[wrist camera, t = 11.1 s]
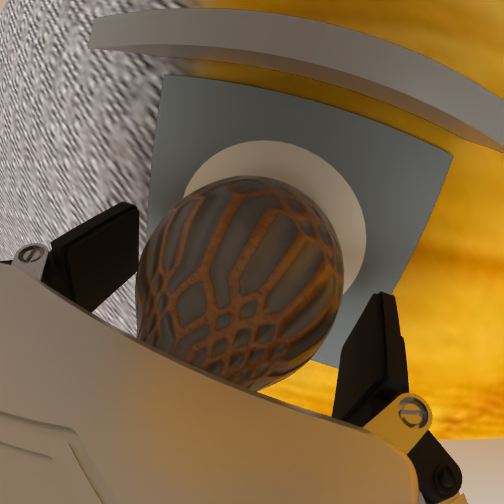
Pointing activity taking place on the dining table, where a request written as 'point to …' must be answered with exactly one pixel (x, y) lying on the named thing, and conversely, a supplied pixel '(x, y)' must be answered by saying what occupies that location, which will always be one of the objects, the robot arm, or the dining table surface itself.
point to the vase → (241, 280)
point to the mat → (303, 174)
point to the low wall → (313, 60)
